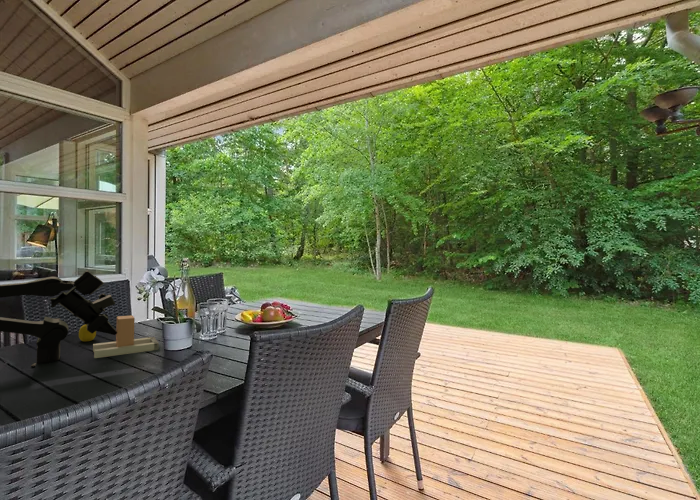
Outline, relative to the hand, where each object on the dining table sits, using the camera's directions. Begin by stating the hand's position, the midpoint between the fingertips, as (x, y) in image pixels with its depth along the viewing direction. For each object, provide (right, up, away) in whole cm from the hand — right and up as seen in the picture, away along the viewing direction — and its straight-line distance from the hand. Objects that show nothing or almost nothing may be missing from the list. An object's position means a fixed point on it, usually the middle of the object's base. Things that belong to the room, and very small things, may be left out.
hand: (116, 333), depth 128 cm
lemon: (-19, -7, +11) cm, 23 cm away
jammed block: (+2, -6, +2) cm, 7 cm away
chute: (+2, -8, +2) cm, 8 cm away
